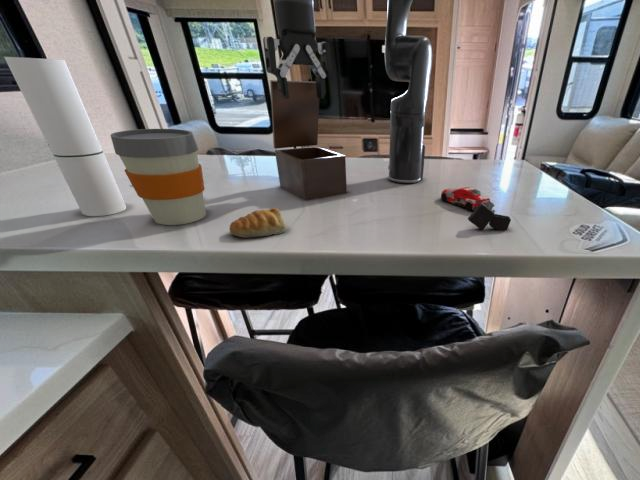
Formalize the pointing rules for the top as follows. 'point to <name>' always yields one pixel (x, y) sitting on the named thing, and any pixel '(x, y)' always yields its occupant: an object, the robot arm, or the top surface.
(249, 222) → the pastry
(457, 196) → the race car
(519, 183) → the top surface
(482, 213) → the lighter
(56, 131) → the cylindrical container
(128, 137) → the reusable coffee cup
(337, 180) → the chest
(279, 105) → the lid
